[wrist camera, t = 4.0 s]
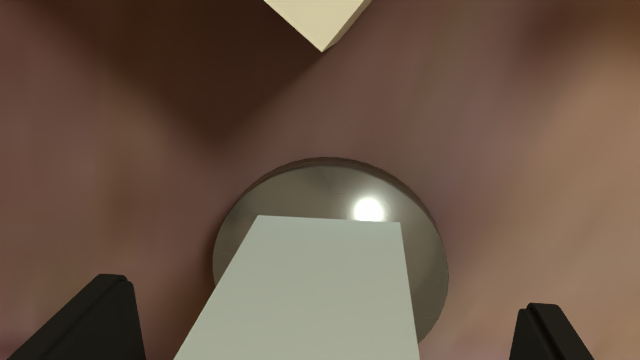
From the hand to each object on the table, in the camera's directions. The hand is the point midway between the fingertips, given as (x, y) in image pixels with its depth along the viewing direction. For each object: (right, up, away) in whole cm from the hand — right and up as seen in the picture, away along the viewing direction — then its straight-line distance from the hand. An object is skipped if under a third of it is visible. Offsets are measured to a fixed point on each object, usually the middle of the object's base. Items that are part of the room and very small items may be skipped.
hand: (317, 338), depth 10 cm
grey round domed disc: (0, +1, +3) cm, 4 cm away
